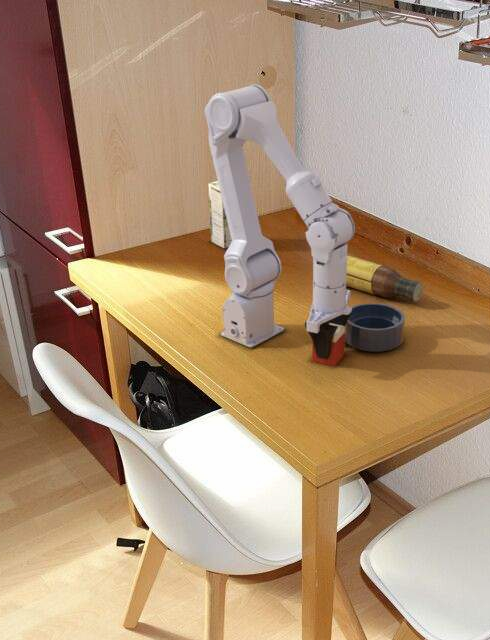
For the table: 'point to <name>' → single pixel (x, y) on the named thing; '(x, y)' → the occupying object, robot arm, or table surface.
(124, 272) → the table surface
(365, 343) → the bowl
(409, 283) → the sauce bottle
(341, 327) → the red block
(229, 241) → the syrup box
